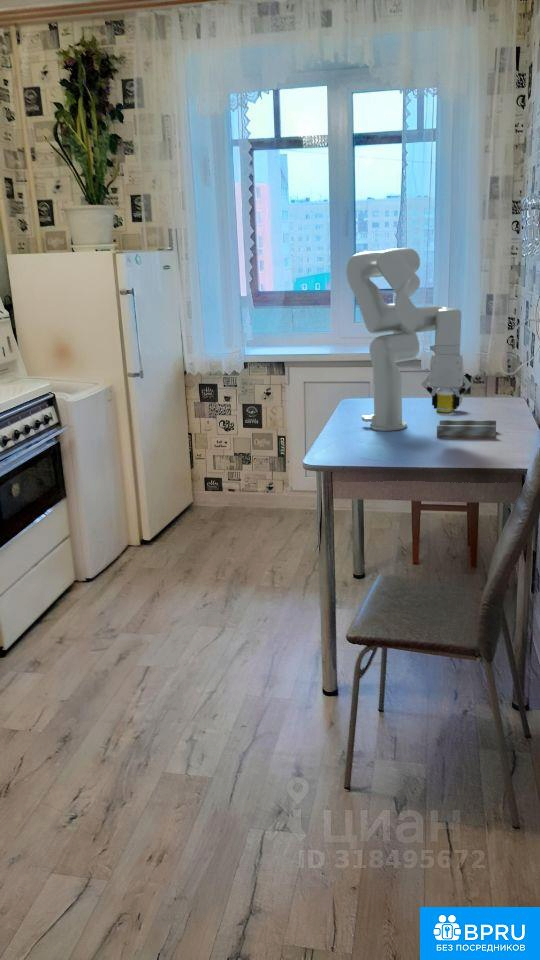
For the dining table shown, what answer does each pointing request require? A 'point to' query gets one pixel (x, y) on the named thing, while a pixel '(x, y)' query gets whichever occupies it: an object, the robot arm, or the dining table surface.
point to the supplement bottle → (445, 401)
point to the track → (466, 428)
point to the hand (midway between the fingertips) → (445, 407)
